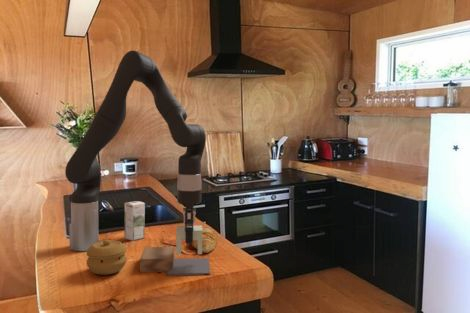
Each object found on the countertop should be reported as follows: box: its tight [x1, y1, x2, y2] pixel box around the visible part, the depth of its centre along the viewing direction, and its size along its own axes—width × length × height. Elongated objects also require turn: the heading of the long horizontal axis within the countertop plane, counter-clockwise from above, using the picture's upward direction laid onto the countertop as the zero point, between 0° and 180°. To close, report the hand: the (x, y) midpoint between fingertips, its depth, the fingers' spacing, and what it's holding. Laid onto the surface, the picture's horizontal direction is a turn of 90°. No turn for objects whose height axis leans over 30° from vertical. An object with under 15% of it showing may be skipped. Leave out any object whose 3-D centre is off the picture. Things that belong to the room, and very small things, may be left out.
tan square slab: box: [139, 246, 176, 273], centre depth 126 cm, size 10×12×4 cm
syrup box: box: [123, 200, 146, 242], centre depth 154 cm, size 6×6×14 cm
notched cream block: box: [175, 225, 203, 256], centre depth 123 cm, size 6×8×8 cm
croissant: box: [191, 227, 218, 254], centre depth 146 cm, size 21×10×8 cm, turn 12°
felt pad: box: [166, 257, 211, 277], centre depth 124 cm, size 13×13×1 cm
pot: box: [86, 239, 128, 276], centre depth 119 cm, size 12×12×10 cm
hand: (189, 240), depth 123 cm, fingers closed on notched cream block, 6 cm apart
